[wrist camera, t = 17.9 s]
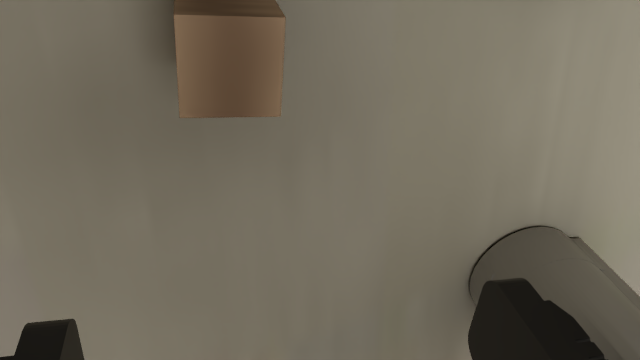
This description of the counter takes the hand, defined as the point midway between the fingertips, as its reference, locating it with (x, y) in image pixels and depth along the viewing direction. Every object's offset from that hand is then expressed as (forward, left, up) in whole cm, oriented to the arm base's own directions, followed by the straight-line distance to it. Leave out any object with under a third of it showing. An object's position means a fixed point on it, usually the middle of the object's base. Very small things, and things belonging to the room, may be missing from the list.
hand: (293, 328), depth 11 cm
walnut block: (0, 0, -22) cm, 22 cm away
